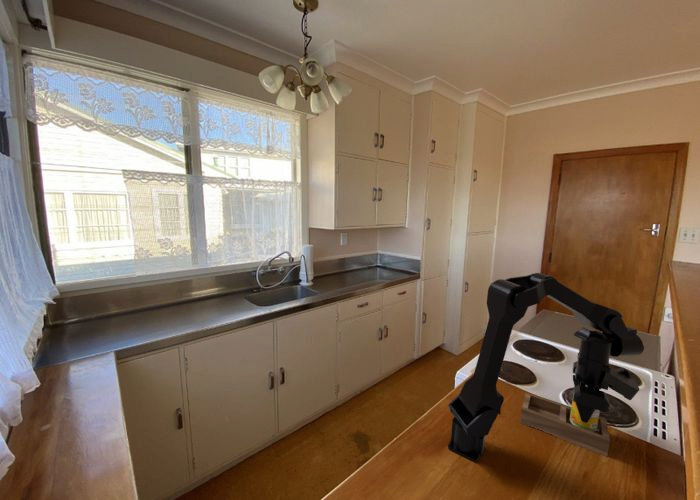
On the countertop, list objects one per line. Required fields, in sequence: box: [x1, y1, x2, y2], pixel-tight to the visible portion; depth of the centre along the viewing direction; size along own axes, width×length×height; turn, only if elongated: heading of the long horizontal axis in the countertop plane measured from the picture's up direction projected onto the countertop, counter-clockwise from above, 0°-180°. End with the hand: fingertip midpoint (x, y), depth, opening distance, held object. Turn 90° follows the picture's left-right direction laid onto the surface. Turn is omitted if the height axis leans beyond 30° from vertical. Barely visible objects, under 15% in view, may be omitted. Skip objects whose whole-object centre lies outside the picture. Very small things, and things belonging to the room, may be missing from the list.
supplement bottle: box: [570, 388, 601, 432], centre depth 75 cm, size 5×5×10 cm
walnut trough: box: [519, 391, 611, 457], centre depth 78 cm, size 9×18×4 cm, turn 54°
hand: (583, 415), depth 75 cm, fingers closed on supplement bottle, 5 cm apart
